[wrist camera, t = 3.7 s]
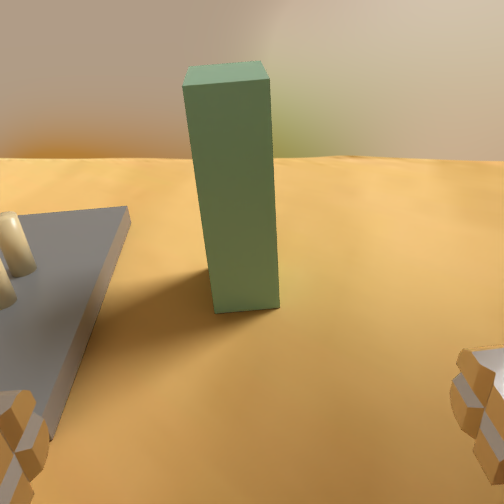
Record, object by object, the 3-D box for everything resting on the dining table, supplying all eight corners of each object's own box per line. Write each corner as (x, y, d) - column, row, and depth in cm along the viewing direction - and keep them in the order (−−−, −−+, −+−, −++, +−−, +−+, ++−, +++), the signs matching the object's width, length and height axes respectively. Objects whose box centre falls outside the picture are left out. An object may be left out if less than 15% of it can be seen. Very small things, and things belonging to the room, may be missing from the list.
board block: (271, 260, 24) (260, 60, 19) (279, 307, 21) (269, 78, 15) (215, 266, 24) (189, 66, 19) (214, 313, 20) (182, 85, 15)
